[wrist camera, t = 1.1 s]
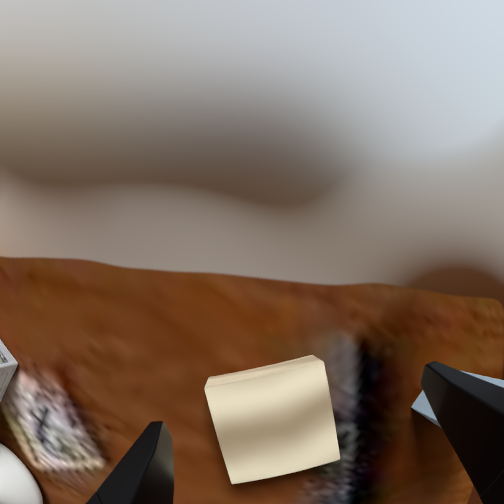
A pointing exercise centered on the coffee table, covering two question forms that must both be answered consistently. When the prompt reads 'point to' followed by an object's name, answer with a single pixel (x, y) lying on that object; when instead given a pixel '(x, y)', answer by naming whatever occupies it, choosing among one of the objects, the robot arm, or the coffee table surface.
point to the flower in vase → (16, 481)
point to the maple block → (273, 419)
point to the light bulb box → (6, 368)
